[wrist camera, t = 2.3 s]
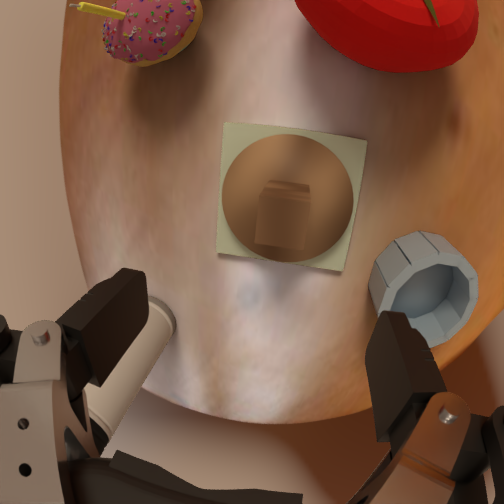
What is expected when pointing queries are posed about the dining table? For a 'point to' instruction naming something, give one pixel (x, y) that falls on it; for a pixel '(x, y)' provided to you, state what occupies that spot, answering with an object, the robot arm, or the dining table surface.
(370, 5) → the tomato
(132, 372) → the travel mug
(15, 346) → the robot arm
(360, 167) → the trivet
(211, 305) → the dining table surface
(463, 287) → the bowl
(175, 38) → the cupcake
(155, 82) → the dining table surface
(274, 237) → the lid
